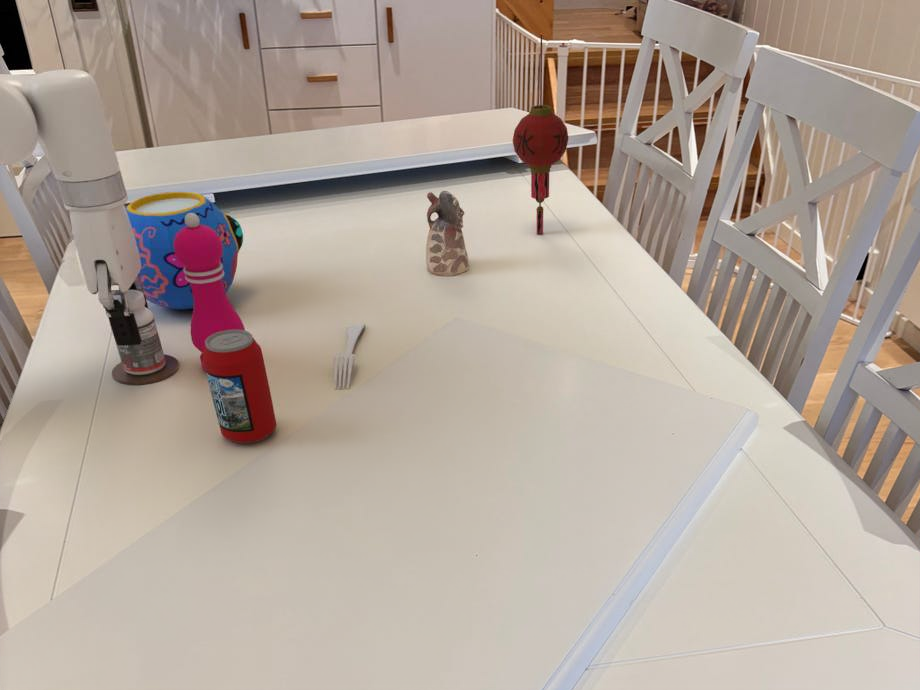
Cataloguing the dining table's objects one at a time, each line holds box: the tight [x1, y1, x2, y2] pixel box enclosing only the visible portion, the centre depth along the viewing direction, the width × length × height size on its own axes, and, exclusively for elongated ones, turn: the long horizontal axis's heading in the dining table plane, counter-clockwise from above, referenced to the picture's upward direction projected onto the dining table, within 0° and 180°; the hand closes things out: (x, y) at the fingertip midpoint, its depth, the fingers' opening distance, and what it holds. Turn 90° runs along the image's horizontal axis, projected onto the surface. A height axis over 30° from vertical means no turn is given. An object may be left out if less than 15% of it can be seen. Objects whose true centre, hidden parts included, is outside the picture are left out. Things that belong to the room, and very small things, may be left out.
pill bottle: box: [108, 290, 165, 375], centre depth 123 cm, size 6×6×10 cm
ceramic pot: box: [125, 191, 244, 310], centre depth 139 cm, size 18×18×15 cm
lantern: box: [512, 34, 569, 236], centre depth 153 cm, size 10×10×30 cm
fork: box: [333, 323, 366, 391], centre depth 127 cm, size 3×21×3 cm, turn 0°
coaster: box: [111, 353, 180, 386], centre depth 126 cm, size 9×9×1 cm
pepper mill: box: [174, 213, 246, 373], centre depth 120 cm, size 7×7×20 cm
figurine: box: [425, 190, 470, 277], centre depth 148 cm, size 7×7×12 cm
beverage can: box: [202, 330, 277, 444], centre depth 108 cm, size 7×7×12 cm
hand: (134, 332), depth 123 cm, fingers closed on pill bottle, 5 cm apart
